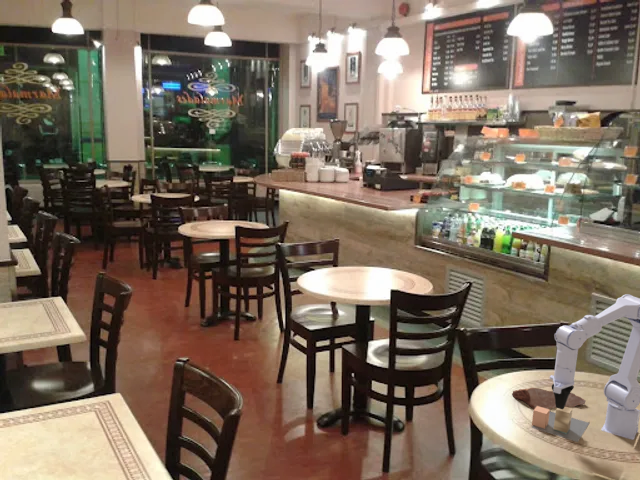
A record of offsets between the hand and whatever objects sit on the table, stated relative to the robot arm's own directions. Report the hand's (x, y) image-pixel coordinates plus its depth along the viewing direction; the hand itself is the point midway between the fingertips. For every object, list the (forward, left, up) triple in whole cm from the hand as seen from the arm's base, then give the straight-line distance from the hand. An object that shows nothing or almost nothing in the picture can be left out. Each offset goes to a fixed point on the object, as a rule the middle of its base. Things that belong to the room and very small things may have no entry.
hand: (560, 407), depth 190 cm
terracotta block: (+6, -6, -10) cm, 13 cm away
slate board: (+1, -10, -10) cm, 14 cm away
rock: (+9, -26, -11) cm, 30 cm away
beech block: (0, -7, -10) cm, 12 cm away
